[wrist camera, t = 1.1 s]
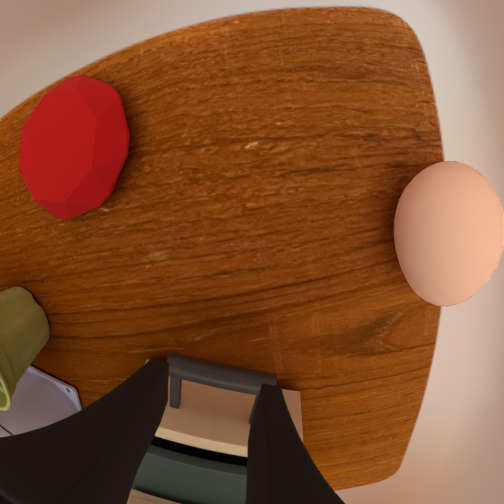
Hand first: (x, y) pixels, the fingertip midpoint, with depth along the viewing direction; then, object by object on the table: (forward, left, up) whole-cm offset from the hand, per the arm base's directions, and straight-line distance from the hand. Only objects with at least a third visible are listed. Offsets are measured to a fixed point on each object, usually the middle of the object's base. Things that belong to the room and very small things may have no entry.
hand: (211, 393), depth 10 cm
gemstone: (-12, +7, -10) cm, 17 cm away
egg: (+10, +11, -6) cm, 16 cm away
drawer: (0, -11, -9) cm, 14 cm away
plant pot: (-19, -8, -10) cm, 23 cm away
